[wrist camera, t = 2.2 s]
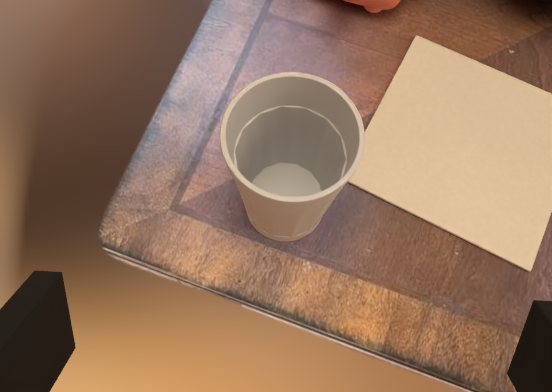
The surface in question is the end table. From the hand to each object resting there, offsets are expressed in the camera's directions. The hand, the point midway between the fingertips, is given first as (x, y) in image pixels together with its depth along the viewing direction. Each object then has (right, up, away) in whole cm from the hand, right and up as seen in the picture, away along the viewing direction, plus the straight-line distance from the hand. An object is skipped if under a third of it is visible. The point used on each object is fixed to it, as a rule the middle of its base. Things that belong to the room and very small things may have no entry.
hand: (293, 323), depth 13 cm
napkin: (+16, +8, +25) cm, 31 cm away
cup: (0, +3, +24) cm, 24 cm away
